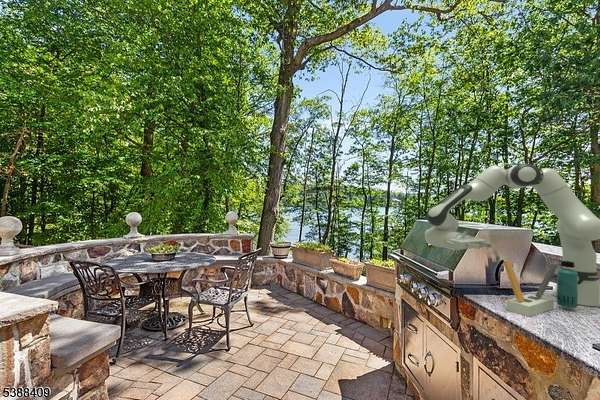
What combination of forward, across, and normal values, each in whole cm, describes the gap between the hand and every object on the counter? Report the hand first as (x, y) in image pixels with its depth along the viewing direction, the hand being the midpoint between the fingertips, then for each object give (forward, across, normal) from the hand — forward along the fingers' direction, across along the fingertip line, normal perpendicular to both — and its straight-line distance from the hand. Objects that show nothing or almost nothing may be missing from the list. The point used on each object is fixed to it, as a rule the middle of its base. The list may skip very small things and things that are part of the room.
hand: (485, 246), depth 128 cm
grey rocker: (+15, +14, +20) cm, 28 cm away
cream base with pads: (+15, +7, +24) cm, 29 cm away
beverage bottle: (+22, +22, +24) cm, 39 cm away
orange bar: (+15, 0, +20) cm, 25 cm away
